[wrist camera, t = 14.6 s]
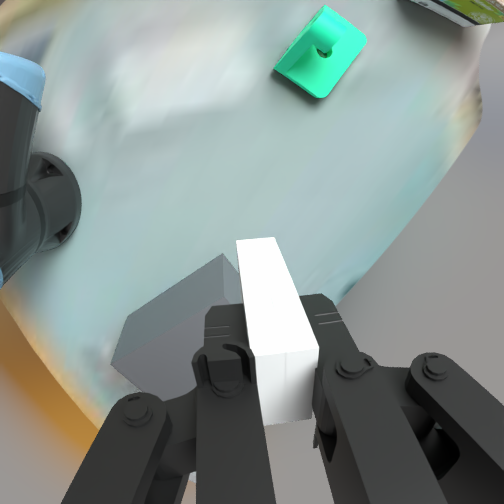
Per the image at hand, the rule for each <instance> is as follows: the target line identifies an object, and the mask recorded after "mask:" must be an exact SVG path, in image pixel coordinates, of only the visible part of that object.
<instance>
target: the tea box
mask: <svg viewBox="0 0 504 504" xmlns="http://www.w3.org/2000/svg"><path fill="white" fill-rule="evenodd" d="M411 1H413V2H415V3H418V4H420V5H421V6H424V7H426V8H428V9H430V10H432V11H434V12H436V13H438V14H440V15H442V16H444V17H446V18H448V19H450V20H451V21H453V22H455V23H457V24H459V25H461V26H462V27H469V26H475V25H482V24H488V23H499V22H504V0H411Z"/></svg>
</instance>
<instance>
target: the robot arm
mask: <svg viewBox="0 0 504 504" xmlns="http://www.w3.org/2000/svg"><path fill="white" fill-rule="evenodd" d="M45 79H46V77H45V73H44V71H43V69H42V68H41V67H40V66H39V65H38V64H36V63H34V62H32V61H30V60H27V59H24V58H22V57H18V56H15V55H12V54H8V53H4V52H0V289H1V288H2V286H3V285H4V284H5V283H6V282H7V281H8V279H9V278H10V277H11V276H12V275H13V274H14V273H15V272H16V271H17V270H18V269H19V268H20V267H21V266H22V265H23V264H24V263H25V262H26V261H27V260H28V259H29V258H30V257H31V256H32V255H33V254H34V253H38V252H42V251H46V250H50V249H53V248H55V247H57V246H59V245H60V244H62V243H63V242H64V241H65V240H66V239H67V238H68V237H69V236H70V235H71V234H72V233H73V231H74V230H75V228H76V226H77V224H78V221H79V218H80V214H81V194H80V189H79V185H78V183H77V180H76V178H75V176H74V174H73V172H72V171H71V169H70V168H69V167H68V166H67V165H66V164H65V163H64V162H63V161H62V160H61V159H59V158H58V157H56V156H54V155H52V154H49V153H45V152H35V153H31V150H32V144H33V138H34V133H35V128H36V123H37V118H38V114H39V112H40V111H41V107H42V106H41V99H42V94H43V90H44V85H45ZM236 245H237V257H238V269H239V280H240V292H241V302H242V303H239V304H229V305H217V306H212V307H211V308H210V309H209V311H208V312H207V314H206V315H205V325H204V328H205V329H204V346H203V347H201V348H200V349H199V350H198V351H197V352H196V353H195V354H194V356H193V359H192V362H191V364H192V368H193V372H194V376H195V380H196V384H197V386H196V387H195V388H194V389H193V390H191V391H190V392H188V393H187V394H184V395H182V396H180V397H177V398H173V399H170V400H166V401H162V400H161V399H160V398H159V397H158V396H156V395H153V394H150V393H141V392H137V393H133V394H129V395H127V396H125V397H123V398H122V399H120V400H118V401H117V403H116V404H115V405H114V406H113V407H112V409H111V411H110V412H109V414H108V416H107V418H106V420H105V421H104V423H103V425H102V427H101V429H100V430H99V432H98V434H97V436H96V438H95V440H94V441H93V443H92V445H91V447H90V449H89V451H88V453H87V454H86V456H85V458H84V460H83V462H82V464H81V466H80V468H79V470H78V471H77V473H76V475H75V477H74V479H73V481H72V483H71V485H70V487H69V489H68V491H67V492H66V494H65V496H64V498H63V500H62V502H61V504H181V501H182V498H183V495H184V492H185V489H186V485H187V482H188V479H189V476H190V473H192V472H196V504H276V500H275V494H274V488H273V482H272V475H271V469H270V463H269V457H268V451H267V445H266V438H265V432H264V425H272V424H279V423H287V422H293V421H299V420H306V419H311V418H312V410H313V411H314V414H315V418H316V428H315V434H314V440H313V448H317V446H318V445H319V449H320V452H321V456H322V459H323V463H324V466H325V470H326V474H327V478H328V481H329V485H330V489H331V492H332V496H333V500H334V504H504V406H503V405H502V404H501V403H500V402H499V401H498V400H497V399H496V398H495V397H494V396H492V395H491V394H490V393H489V392H488V391H487V390H486V389H485V388H484V387H482V386H481V385H480V384H479V383H478V382H477V381H476V380H475V379H473V378H472V377H471V376H470V375H469V374H468V373H467V372H466V371H464V370H463V369H462V368H461V367H460V366H458V365H457V364H456V363H455V362H454V361H453V360H451V359H450V358H448V357H447V356H445V355H442V354H438V353H424V354H421V355H418V356H417V357H416V358H415V359H414V360H413V361H412V364H411V366H410V368H401V367H399V368H398V367H384V366H379V365H378V364H377V363H376V362H375V360H374V359H373V358H372V357H371V356H369V355H367V354H365V353H363V352H359V350H358V348H357V346H356V344H355V343H354V341H353V339H352V337H351V335H350V333H349V331H348V329H347V328H346V326H345V324H344V322H343V321H342V318H341V316H340V315H339V313H338V311H337V309H336V307H335V305H334V303H333V302H332V301H331V300H330V299H328V298H327V297H326V296H324V295H323V294H322V293H321V294H313V295H305V296H298V294H297V291H296V289H295V286H294V284H293V281H292V279H291V277H290V274H289V272H288V269H287V267H286V264H285V262H284V260H283V257H282V255H281V252H280V250H279V248H278V245H277V243H276V240H275V238H274V237H270V238H258V239H247V240H236Z"/></svg>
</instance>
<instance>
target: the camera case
mask: <svg viewBox="0 0 504 504" xmlns="http://www.w3.org/2000/svg"><path fill="white" fill-rule="evenodd" d="M239 303H242V302H241V292H240V280H239V273H238V272H237V271H236V270H235V268H234V267H233V266H232V264H231V263H230V262H229V261H228V259H227V258H226V257H225V256H224V254H223V253H222V254H221V255H219V256H218V257H216V258H215V259H213V260H212V261H210V262H209V263H207V264H206V265H204V266H203V267H201V268H200V269H198V270H197V271H195V272H194V273H192V274H191V275H189V276H187V277H186V278H184V279H183V280H181V281H180V282H178V283H177V284H175V285H174V286H172V287H171V288H169V289H168V290H166V291H165V292H163V293H162V294H160V295H159V296H157V297H156V298H154V299H153V300H151V301H150V302H148V303H147V304H145V305H144V306H142V307H141V308H139V309H138V310H136V311H135V312H133V313H132V314H130V315H129V316H128V317H127V320H126V322H125V325H124V328H123V330H122V333H121V336H120V338H119V341H118V344H117V347H116V350H115V353H114V355H113V358H112V361H111V364H110V365H112V366H113V367H114V368H115V369H116V370H117V371H119V372H120V373H121V374H122V375H123V376H124V377H126V378H127V379H128V380H129V381H130V382H132V383H133V384H134V385H135V386H137V387H138V388H139V389H140V390H142V391H143V392H144V393H150V394H153V395H156V396H158V397H159V398H160V399H161V400H162V401H166V400H170V399H173V398H177V397H180V396H182V395H184V394H187V393H188V392H190V391H191V390H193V389H194V388H195V387H196V386H197V384H196V380H195V376H194V372H193V368H192V364H191V362H192V359H193V356H194V354H195V353H196V352H197V351H198V350H199V349H200V348H201V347H203V346H204V329H205V328H204V325H205V315H206V314H207V312H208V311H209V309H210V308H211V307H212V306H217V305H229V304H239Z"/></svg>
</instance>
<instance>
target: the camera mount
mask: <svg viewBox="0 0 504 504" xmlns="http://www.w3.org/2000/svg"><path fill="white" fill-rule="evenodd" d="M366 42H367V39H366V37H365V35H364V34H363V33H362V32H360V31H359V30H358V29H357V28H355V27H354V26H353V25H352V24H350V23H349V22H348V21H346V20H345V19H344V18H342V17H341V16H340V15H338V14H337V13H336V12H334V11H333V10H332V9H330V8H329V7H328V6H326V5H324V6H323V7H322V8H321V9H320V10H319V11H318V13H317V14H316V15H315V16H314V17H313V19H312V20H311V21H310V22H309V23H308V25H307V26H306V27H305V28H304V29H303V30H302V32H301V33H300V34H299V35H298V37H297V38H296V39H295V40H294V42H293V43H292V44H291V45H290V47H289V48H288V49H287V51H286V52H285V54H284V55H283V56H282V58H281V59H280V60H279V61H278V63H277V64H276V65H275V67H274V69H275V70H277V71H278V72H279V73H281V74H282V75H284V76H285V77H287V78H288V79H290V80H291V81H293V82H294V83H295V84H297V85H298V86H300V87H301V88H302V89H304V90H305V91H307V92H308V93H309V94H311V95H312V96H313V97H315V98H324V97H326V96H327V95H328V94H329V92H330V91H331V90H332V88H333V87H334V86H335V84H336V83H337V81H338V80H339V79H340V77H341V76H342V75H343V73H344V72H345V71H346V69H347V68H348V67H349V65H350V64H351V63H352V61H353V60H354V59H355V57H356V56H357V55H358V53H359V52H360V51H361V49H362V48H363V47H364V45H365V44H366ZM317 48H318V49H319V50H320V51H322V52H323V53H326V52H327V57H326V58H322V57H321V56H319V55H318V53H317Z"/></svg>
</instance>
